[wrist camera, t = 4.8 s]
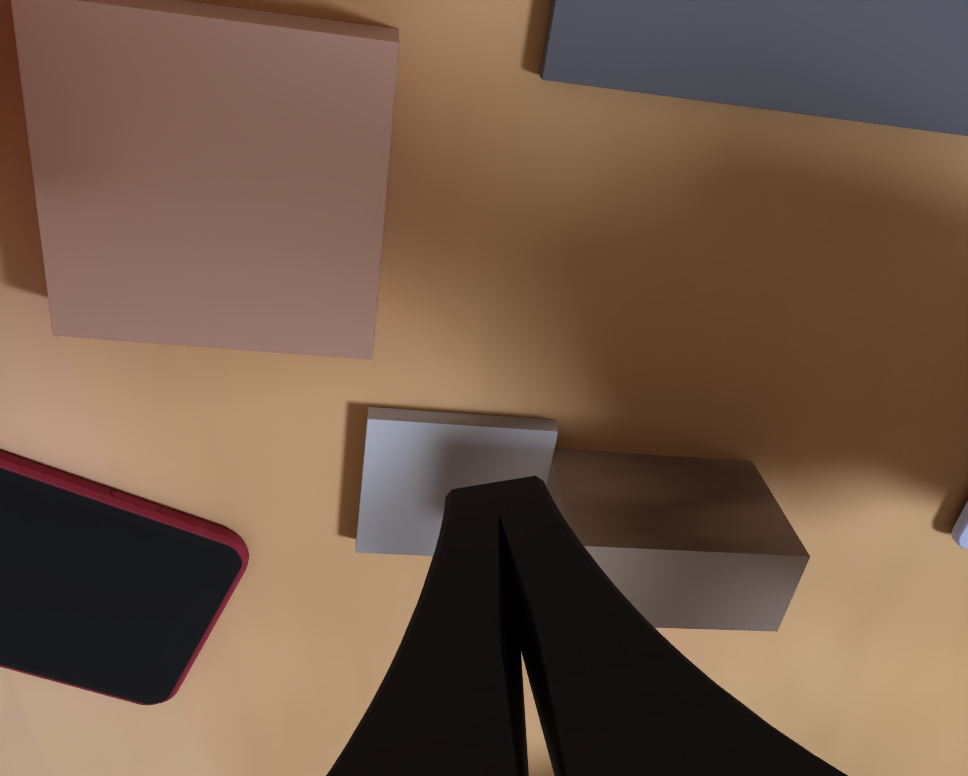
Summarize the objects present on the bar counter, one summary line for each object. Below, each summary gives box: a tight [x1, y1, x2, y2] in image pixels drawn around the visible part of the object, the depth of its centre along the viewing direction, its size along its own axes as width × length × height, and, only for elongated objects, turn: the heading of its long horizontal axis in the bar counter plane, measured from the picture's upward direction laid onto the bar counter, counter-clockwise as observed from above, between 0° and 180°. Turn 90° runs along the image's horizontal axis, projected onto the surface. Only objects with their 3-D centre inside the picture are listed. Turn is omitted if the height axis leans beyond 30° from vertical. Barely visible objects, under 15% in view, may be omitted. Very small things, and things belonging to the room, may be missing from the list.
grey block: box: [356, 407, 810, 631], centre depth 23 cm, size 11×4×4 cm, turn 82°
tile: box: [11, 0, 399, 359], centre depth 19 cm, size 2×7×7 cm
